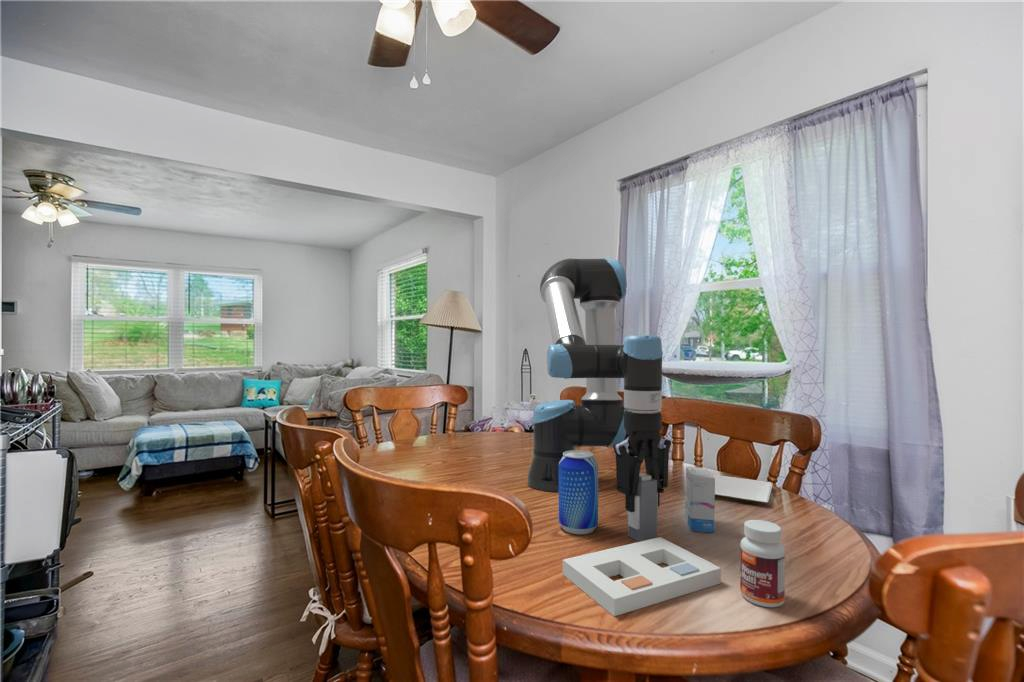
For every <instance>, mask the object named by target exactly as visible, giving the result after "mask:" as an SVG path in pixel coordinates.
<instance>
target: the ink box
mask: <svg viewBox="0 0 1024 682" xmlns="http://www.w3.org/2000/svg"><path fill="white" fill-rule="evenodd" d="M684 488H685V491H684V492H685V497H684V507H685V508H684V519H685V521H686V523H687V525H688V527H689V530H690V531H691V532H704V533H714V532H715V506H716V505H715V503H716V501H715V500H716V499H715V498H716V497H715V478H714V476H713V475H712V473H711V471H710V470H709V468H706V467H695V466H685V487H684Z"/></svg>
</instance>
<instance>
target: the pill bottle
mask: <svg viewBox="0 0 1024 682" xmlns="http://www.w3.org/2000/svg"><path fill="white" fill-rule="evenodd" d="M743 528H744V529H743V535H744V537H743V538H741V540H740V545H739V546H740V547H739V548H740V549H739V550H740V561H739V562H740V569H739V570H740V572H739V576H740V578H739V579H740V580H739V585H740V586H739V587H740V590H739V591H740V594H741V596H742V598H744V599H745V600H746V601H748V602H750V603H751V604H754V605H757V606H759V607H764V608H778V607H781V606H782V605H784V603H785V599H786V598H785V593H786V591H785V590H786V588H785V586H786V583H785V582H786V581H785V579H786V577H785V572H786V570H785V569H786V567H785V566H786V565H785V563H786V561H785V560H786V559H785V558H786V557H785V556H786V553H785V548H784V546H783V545H782V544H781V543H780V542H782V539H783V538H782V537H783V536H782V527H780V525H779V524H776V523H775V522H771V521H768V520H763V519H762V520H761V519H750V520H749V519H748V520H746V521H745V522H744V525H743Z"/></svg>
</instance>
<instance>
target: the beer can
mask: <svg viewBox="0 0 1024 682" xmlns="http://www.w3.org/2000/svg"><path fill="white" fill-rule="evenodd" d="M558 524H559V525H561V529H562V530H563V531H564V532H565V533H566V532H567V533H569V534H573V535H588V534H591V533H593V532H594V531H595V529H596V528H597V526H598V525H599V464H598V462H597V460H596V458H595V456H594V453H593V452H592V451H588V450H580V449H579V450H578V449H576V450H571V451H566V452H564V453H563V457H562V459H561V460H560V462H559V491H558Z"/></svg>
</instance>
